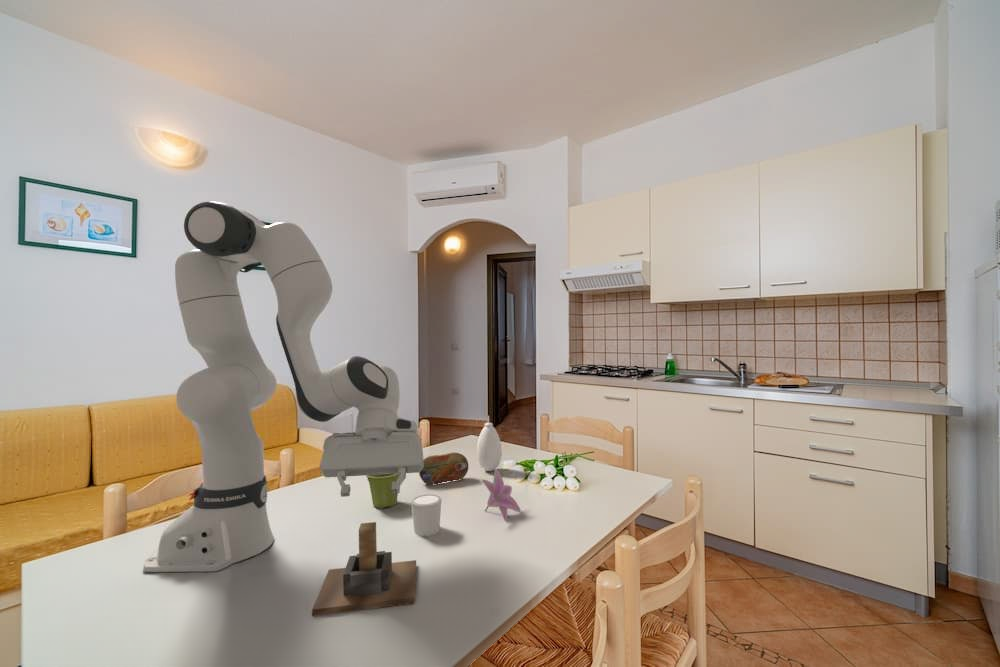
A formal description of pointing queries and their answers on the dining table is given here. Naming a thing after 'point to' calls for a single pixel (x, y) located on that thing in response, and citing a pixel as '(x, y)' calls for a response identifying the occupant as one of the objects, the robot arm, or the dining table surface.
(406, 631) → the dining table surface
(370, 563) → the wooden stick
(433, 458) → the tin
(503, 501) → the lily
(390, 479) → the plant pot
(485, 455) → the sauce bottle
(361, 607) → the socket board
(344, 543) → the dining table surface
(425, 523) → the white cup
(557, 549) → the dining table surface
